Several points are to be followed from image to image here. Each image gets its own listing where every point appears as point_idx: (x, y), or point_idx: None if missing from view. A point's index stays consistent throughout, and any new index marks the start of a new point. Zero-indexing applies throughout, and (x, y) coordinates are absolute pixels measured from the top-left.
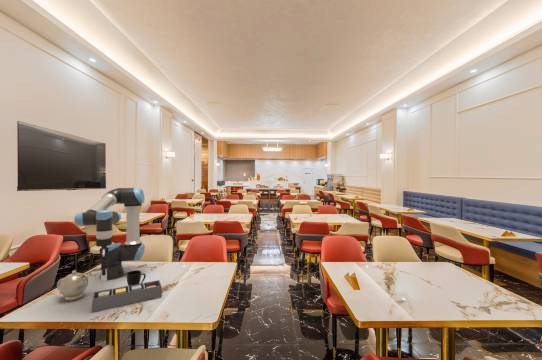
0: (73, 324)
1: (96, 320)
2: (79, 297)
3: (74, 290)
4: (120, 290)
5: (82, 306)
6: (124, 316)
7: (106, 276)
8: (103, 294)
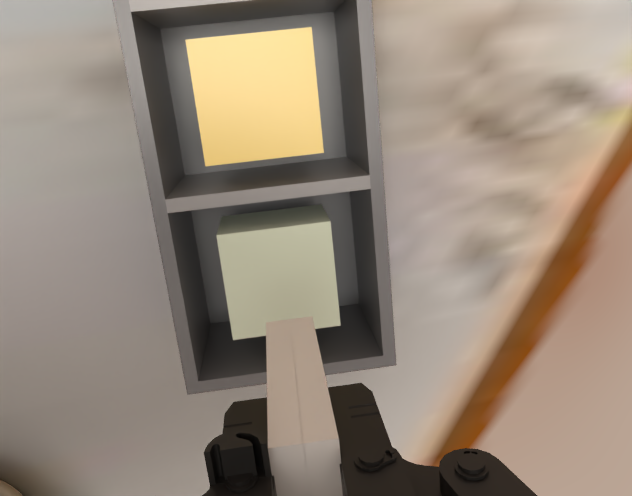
0: (512, 387)
1: (537, 246)
2: (6, 486)
3: None
4: (264, 100)
5: (203, 410)
6: (592, 27)
7: (318, 351)
8: (310, 281)
